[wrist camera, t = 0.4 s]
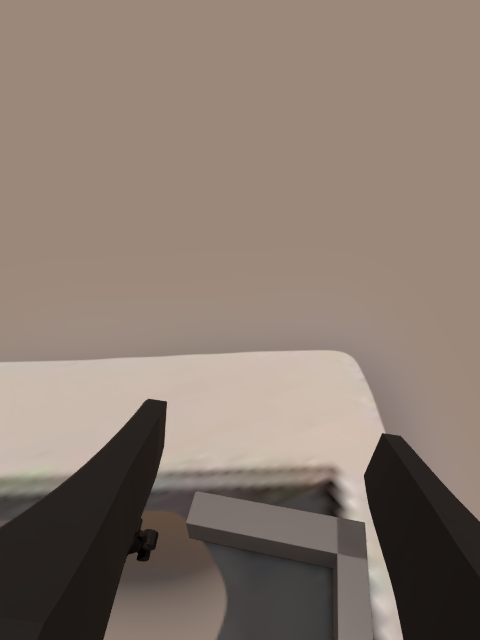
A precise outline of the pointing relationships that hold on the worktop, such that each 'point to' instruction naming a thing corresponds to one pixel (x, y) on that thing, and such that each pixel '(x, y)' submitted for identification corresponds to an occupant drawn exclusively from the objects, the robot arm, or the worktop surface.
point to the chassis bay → (295, 548)
